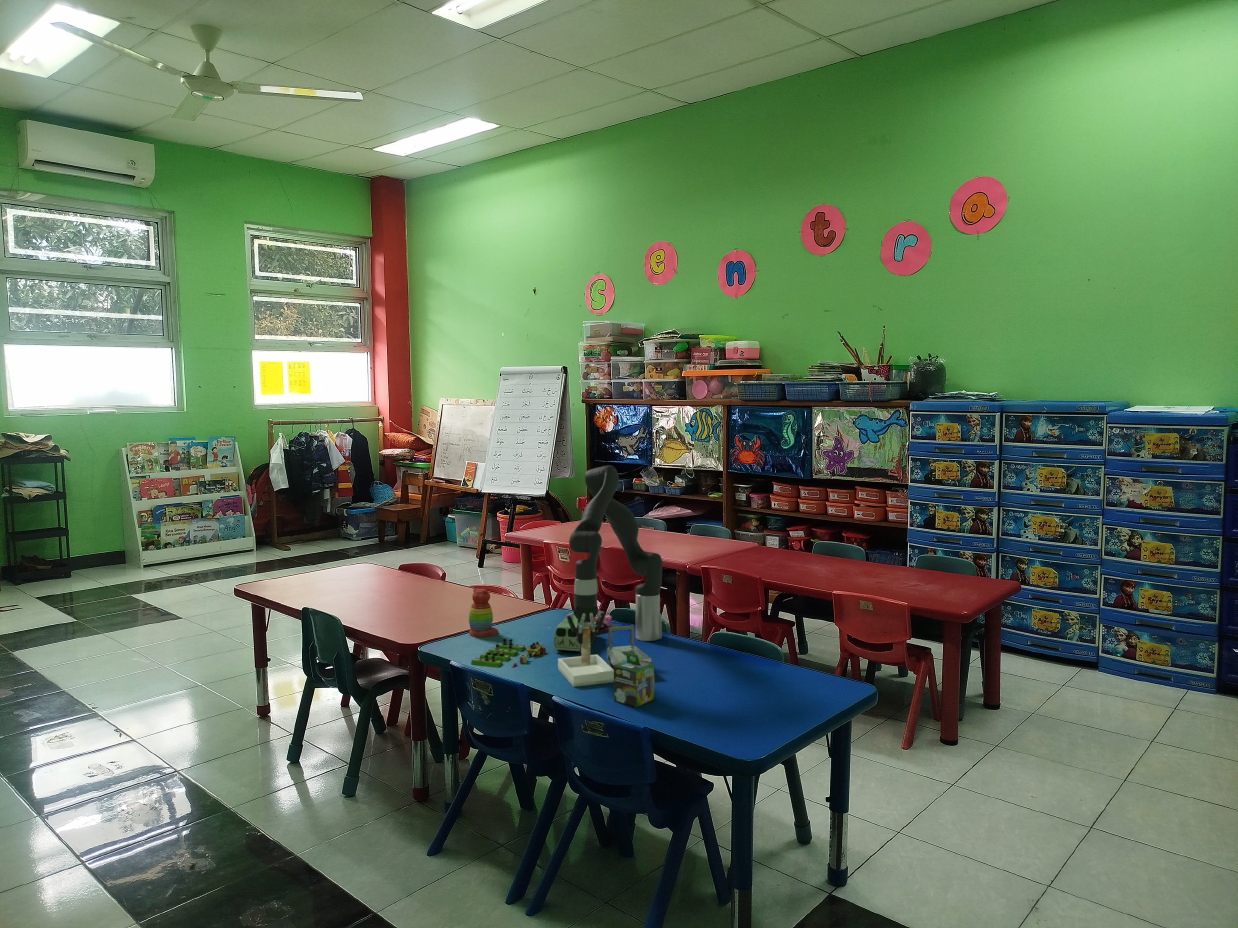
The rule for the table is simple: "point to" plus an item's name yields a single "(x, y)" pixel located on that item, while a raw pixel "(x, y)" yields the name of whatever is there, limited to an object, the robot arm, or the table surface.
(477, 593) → the stacking bear
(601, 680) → the parts tray
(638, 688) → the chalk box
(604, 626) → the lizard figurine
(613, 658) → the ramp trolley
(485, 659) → the toy garden set
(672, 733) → the table surface
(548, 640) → the table surface
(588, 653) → the pin
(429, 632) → the table surface
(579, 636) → the robot arm
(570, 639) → the toy car
